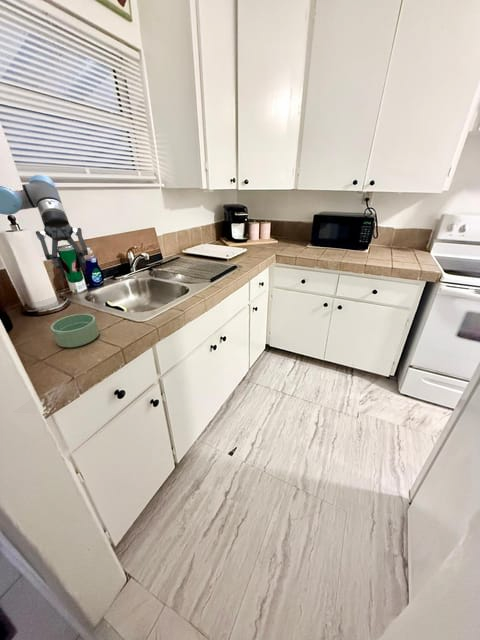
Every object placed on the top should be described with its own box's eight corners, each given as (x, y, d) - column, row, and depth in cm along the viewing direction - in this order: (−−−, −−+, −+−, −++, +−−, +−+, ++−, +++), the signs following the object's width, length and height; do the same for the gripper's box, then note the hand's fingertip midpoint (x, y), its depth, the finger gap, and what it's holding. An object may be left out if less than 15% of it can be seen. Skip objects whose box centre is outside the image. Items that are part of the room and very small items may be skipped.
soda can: (79, 283, 89) (68, 247, 83) (64, 283, 89) (52, 247, 83) (86, 278, 93) (77, 244, 88) (72, 278, 93) (62, 244, 88)
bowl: (47, 347, 80) (40, 330, 78) (74, 328, 91) (69, 312, 88) (84, 350, 79) (78, 333, 76) (107, 330, 90) (102, 314, 87)
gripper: (18, 210, 83) (39, 273, 79) (82, 207, 92) (103, 263, 88) (24, 226, 89) (44, 284, 85) (84, 222, 99) (103, 274, 95)
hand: (74, 273), depth 87 cm, fingers closed on soda can, 5 cm apart
